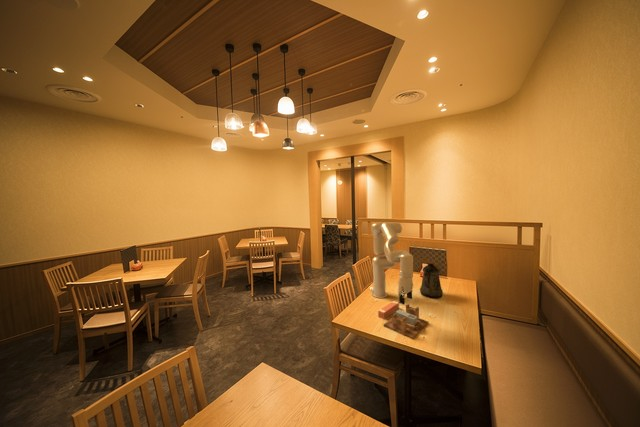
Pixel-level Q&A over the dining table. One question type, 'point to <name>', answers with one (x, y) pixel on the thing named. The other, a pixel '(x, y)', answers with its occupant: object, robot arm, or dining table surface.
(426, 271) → the black backpack
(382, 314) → the orange banded bar
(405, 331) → the jig
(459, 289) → the dining table surface
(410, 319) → the grey rectangular block
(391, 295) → the dining table surface
